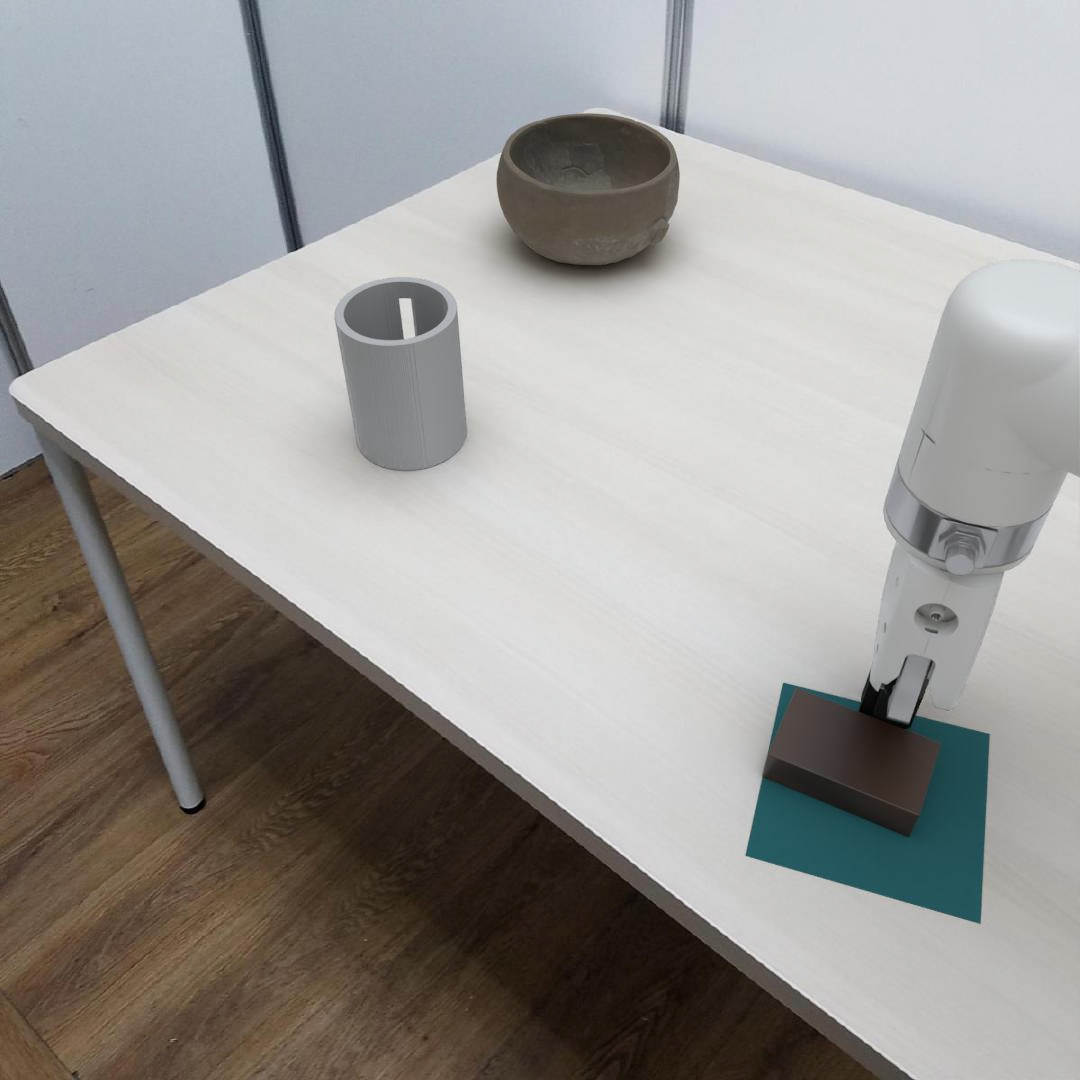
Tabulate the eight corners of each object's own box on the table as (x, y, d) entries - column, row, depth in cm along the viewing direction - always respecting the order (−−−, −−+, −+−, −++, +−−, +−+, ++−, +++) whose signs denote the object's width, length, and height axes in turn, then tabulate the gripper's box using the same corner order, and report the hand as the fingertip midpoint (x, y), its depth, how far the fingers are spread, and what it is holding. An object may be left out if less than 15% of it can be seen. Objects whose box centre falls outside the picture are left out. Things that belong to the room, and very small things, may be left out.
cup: (380, 483, 84) (359, 359, 75) (341, 419, 90) (318, 296, 81) (484, 448, 87) (476, 324, 78) (440, 388, 93) (428, 265, 84)
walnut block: (931, 765, 66) (941, 742, 64) (908, 838, 62) (919, 815, 60) (790, 710, 69) (796, 687, 67) (761, 776, 65) (767, 753, 63)
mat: (988, 735, 67) (989, 733, 67) (979, 924, 59) (980, 923, 59) (782, 684, 70) (783, 682, 70) (745, 856, 62) (745, 855, 62)
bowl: (703, 264, 106) (713, 169, 99) (537, 304, 102) (536, 207, 94) (627, 187, 117) (632, 97, 110) (475, 220, 113) (470, 127, 106)
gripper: (1038, 628, 48) (934, 833, 61) (1048, 428, 58) (956, 641, 71) (869, 587, 50) (803, 794, 63) (906, 399, 60) (843, 612, 73)
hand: (884, 713), depth 67 cm, fingers closed
